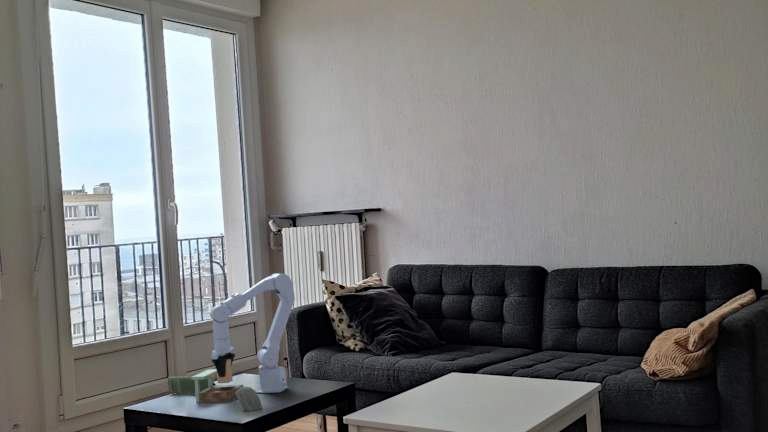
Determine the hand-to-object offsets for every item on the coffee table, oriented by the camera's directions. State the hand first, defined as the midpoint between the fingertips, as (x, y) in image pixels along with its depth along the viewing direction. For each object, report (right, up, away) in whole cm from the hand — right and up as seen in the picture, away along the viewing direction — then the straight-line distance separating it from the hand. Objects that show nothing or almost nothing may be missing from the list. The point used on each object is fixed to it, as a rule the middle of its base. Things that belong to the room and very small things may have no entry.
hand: (224, 375), depth 291 cm
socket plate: (-1, -9, +1) cm, 9 cm away
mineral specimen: (+13, -8, -22) cm, 26 cm away
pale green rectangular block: (-7, -9, +2) cm, 11 cm away
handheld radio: (-13, -10, +14) cm, 22 cm away
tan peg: (0, -2, 0) cm, 2 cm away
